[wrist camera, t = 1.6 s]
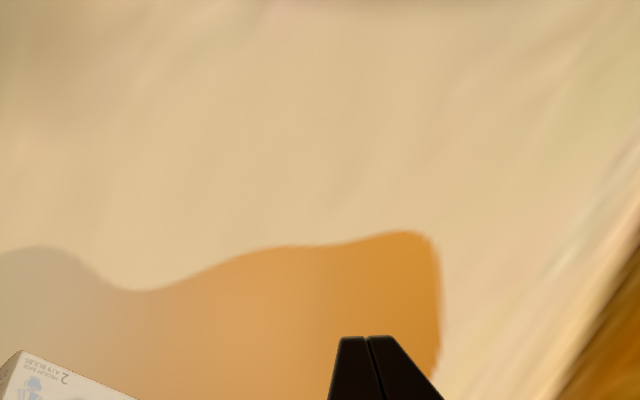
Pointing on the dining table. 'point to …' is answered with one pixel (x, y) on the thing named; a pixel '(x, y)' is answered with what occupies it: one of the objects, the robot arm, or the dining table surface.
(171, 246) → the dining table surface
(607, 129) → the dining table surface
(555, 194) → the dining table surface
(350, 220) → the dining table surface
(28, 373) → the light bulb box
